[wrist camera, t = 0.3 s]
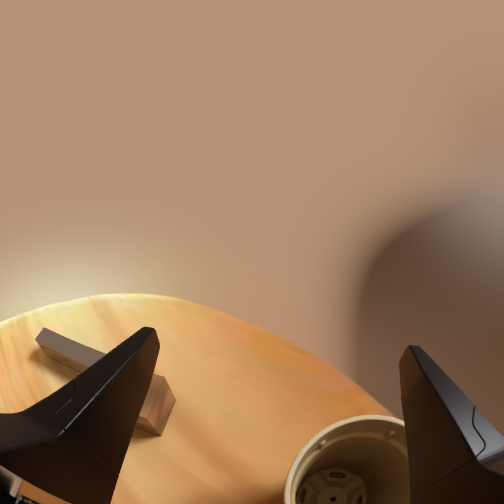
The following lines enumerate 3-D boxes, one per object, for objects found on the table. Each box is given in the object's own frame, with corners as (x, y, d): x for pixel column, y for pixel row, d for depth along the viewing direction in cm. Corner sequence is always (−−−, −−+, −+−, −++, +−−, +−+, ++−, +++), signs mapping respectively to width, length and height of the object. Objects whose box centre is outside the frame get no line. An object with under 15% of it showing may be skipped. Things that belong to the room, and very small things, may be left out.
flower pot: (370, 438, 19) (413, 396, 14) (396, 524, 12) (458, 512, 7) (264, 462, 18) (270, 433, 13) (282, 559, 11) (299, 578, 6)
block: (161, 436, 20) (146, 418, 17) (123, 421, 21) (103, 400, 18) (176, 400, 23) (164, 377, 21) (138, 388, 24) (123, 363, 21)
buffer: (109, 386, 23) (98, 370, 22) (47, 355, 25) (34, 339, 23) (118, 371, 25) (107, 354, 23) (55, 343, 27) (44, 327, 25)
